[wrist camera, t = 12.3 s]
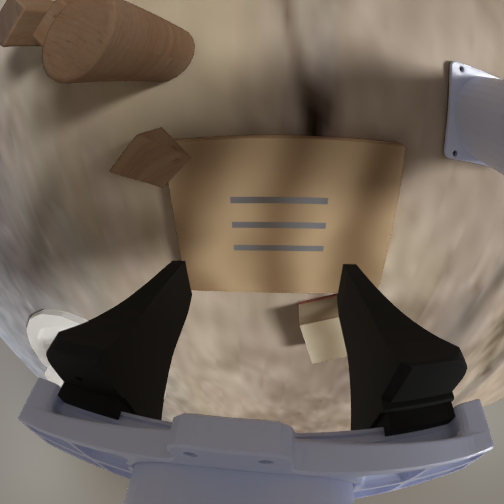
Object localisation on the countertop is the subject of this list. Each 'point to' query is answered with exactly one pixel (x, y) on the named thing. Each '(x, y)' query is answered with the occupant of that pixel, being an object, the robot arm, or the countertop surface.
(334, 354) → the block
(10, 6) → the wooden block set
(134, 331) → the robot arm
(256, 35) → the countertop surface
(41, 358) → the dish
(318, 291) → the board
